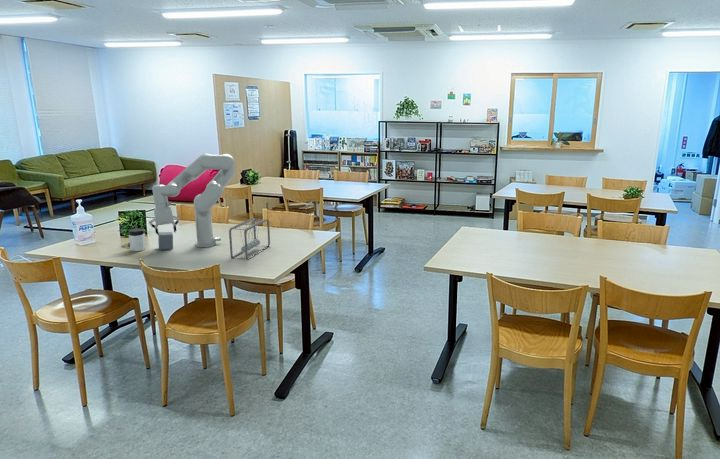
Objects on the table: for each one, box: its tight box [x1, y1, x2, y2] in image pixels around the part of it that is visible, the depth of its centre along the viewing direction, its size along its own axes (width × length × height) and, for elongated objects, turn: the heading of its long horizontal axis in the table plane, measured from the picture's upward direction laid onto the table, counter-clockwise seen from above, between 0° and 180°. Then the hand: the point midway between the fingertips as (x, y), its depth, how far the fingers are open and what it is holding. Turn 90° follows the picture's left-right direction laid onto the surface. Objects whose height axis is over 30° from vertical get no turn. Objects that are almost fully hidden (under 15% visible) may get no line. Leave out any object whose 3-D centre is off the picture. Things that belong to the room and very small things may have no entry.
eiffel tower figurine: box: [120, 224, 132, 250], centre depth 306 cm, size 15×10×13 cm
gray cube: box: [157, 231, 174, 251], centre depth 300 cm, size 8×8×9 cm
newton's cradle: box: [228, 217, 271, 260], centre depth 291 cm, size 30×10×18 cm, turn 165°
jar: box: [128, 227, 147, 252], centre depth 297 cm, size 9×8×12 cm
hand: (166, 233), depth 299 cm, fingers open, 9 cm apart
